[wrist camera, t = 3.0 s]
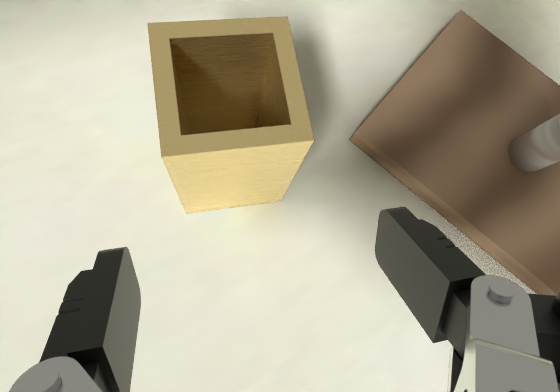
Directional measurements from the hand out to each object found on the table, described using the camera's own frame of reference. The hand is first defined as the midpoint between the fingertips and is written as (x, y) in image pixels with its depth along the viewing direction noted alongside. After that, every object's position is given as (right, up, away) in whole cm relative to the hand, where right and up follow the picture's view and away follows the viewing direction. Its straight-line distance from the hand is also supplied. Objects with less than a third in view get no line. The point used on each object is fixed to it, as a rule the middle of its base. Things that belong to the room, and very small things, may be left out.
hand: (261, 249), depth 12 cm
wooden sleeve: (-3, +4, +12) cm, 13 cm away
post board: (+17, +4, +16) cm, 24 cm away
